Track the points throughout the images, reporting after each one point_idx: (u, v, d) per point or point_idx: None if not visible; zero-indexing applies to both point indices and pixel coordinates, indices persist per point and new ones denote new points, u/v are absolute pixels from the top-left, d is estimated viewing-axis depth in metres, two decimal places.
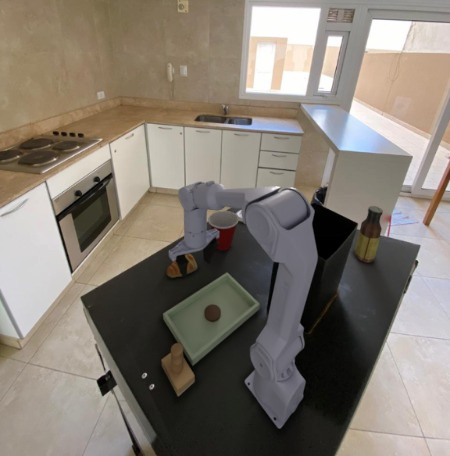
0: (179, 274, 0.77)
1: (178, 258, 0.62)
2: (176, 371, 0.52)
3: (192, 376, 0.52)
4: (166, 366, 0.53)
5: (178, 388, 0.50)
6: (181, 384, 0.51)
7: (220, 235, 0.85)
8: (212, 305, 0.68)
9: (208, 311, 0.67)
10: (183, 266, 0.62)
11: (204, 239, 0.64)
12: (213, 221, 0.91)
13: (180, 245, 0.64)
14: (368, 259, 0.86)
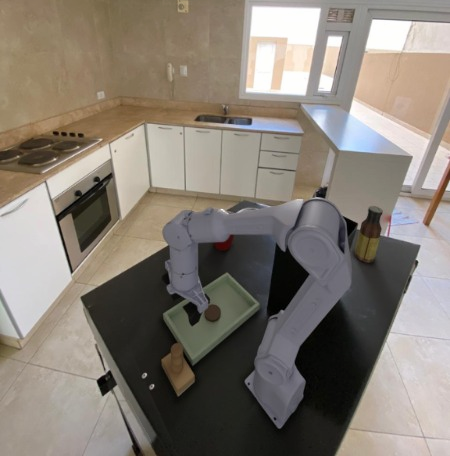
0: None
1: None
2: (176, 371, 0.52)
3: (192, 376, 0.52)
4: (166, 366, 0.53)
5: (178, 388, 0.50)
6: (181, 384, 0.51)
7: None
8: (212, 305, 0.68)
9: (208, 311, 0.67)
10: None
11: None
12: None
13: (189, 296, 0.51)
14: (368, 259, 0.86)
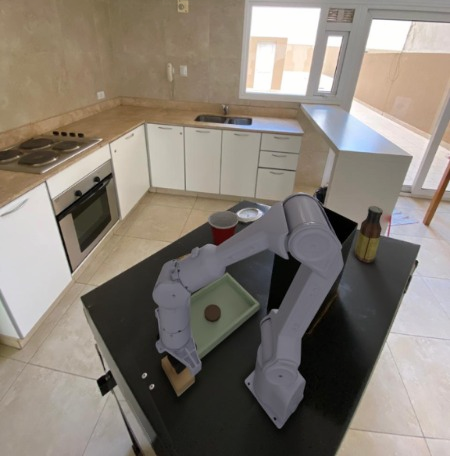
0: None
1: None
2: None
3: None
4: (166, 366, 0.53)
5: (178, 388, 0.50)
6: (181, 384, 0.51)
7: (220, 235, 0.85)
8: (212, 305, 0.68)
9: (208, 311, 0.67)
10: None
11: None
12: (213, 221, 0.91)
13: (180, 356, 0.46)
14: (368, 259, 0.86)
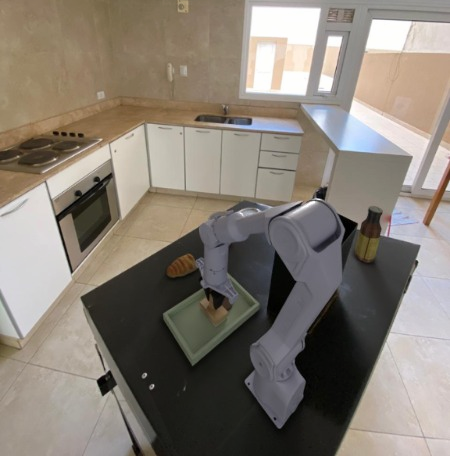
0: (179, 274, 0.77)
1: None
2: (213, 308, 0.65)
3: (226, 312, 0.65)
4: (204, 305, 0.66)
5: (216, 319, 0.63)
6: (218, 317, 0.63)
7: None
8: None
9: None
10: None
11: None
12: None
13: (220, 290, 0.59)
14: (368, 259, 0.86)
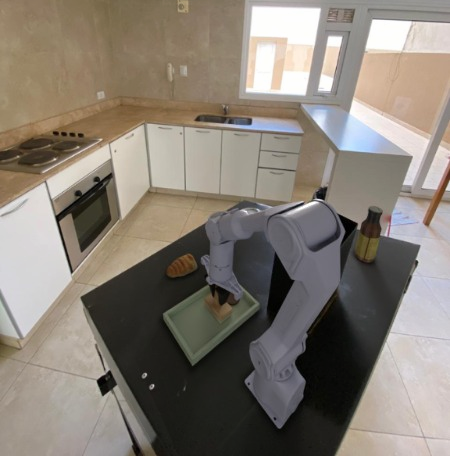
0: (179, 274, 0.77)
1: None
2: (218, 304, 0.65)
3: (230, 309, 0.66)
4: (209, 302, 0.67)
5: (221, 315, 0.64)
6: (223, 313, 0.64)
7: None
8: None
9: None
10: None
11: None
12: None
13: (226, 286, 0.60)
14: (368, 259, 0.86)
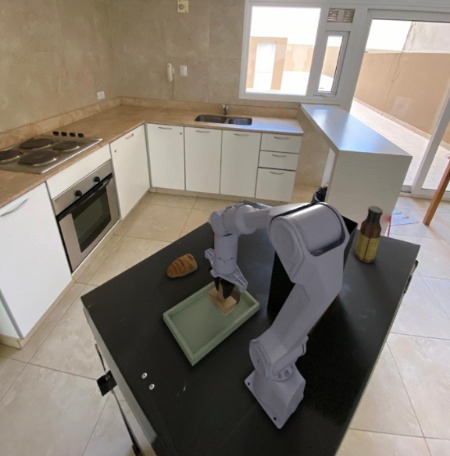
0: (179, 274, 0.77)
1: None
2: (222, 297, 0.66)
3: (235, 302, 0.66)
4: (213, 295, 0.67)
5: (225, 308, 0.64)
6: (227, 306, 0.64)
7: None
8: None
9: None
10: None
11: None
12: None
13: (230, 279, 0.60)
14: (368, 259, 0.86)
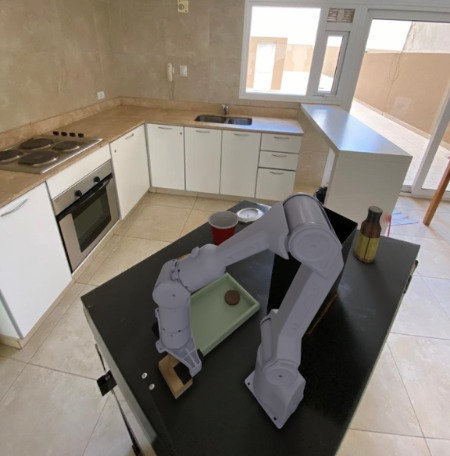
0: None
1: None
2: (173, 373, 0.51)
3: None
4: (163, 368, 0.53)
5: (176, 390, 0.50)
6: (179, 386, 0.50)
7: (220, 235, 0.85)
8: (232, 290, 0.73)
9: (228, 295, 0.71)
10: None
11: None
12: (213, 221, 0.91)
13: (180, 356, 0.46)
14: (368, 259, 0.86)
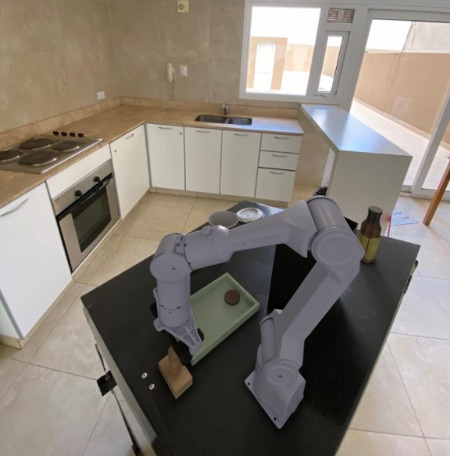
0: None
1: None
2: (173, 373, 0.51)
3: (190, 378, 0.52)
4: (163, 368, 0.53)
5: (176, 390, 0.50)
6: (179, 386, 0.50)
7: None
8: (232, 290, 0.73)
9: (228, 295, 0.71)
10: None
11: None
12: (213, 221, 0.91)
13: (179, 334, 0.44)
14: (368, 259, 0.86)
